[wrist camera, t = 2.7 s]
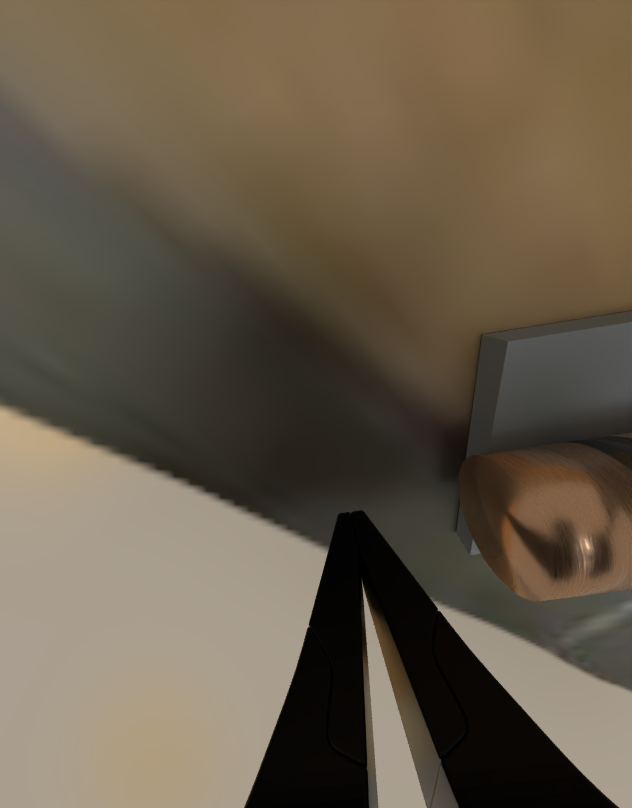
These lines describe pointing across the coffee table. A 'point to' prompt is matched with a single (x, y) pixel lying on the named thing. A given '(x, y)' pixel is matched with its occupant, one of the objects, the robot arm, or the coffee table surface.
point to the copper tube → (553, 516)
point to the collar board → (551, 388)
